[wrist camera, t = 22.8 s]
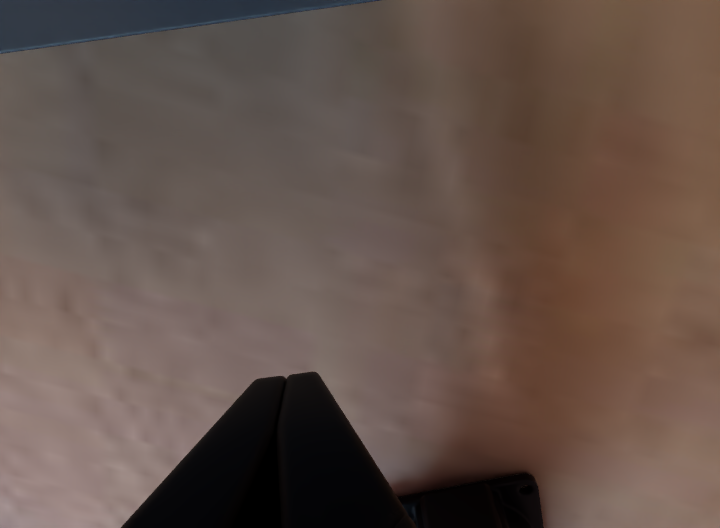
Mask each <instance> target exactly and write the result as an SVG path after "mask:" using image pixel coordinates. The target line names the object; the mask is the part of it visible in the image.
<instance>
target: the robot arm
mask: <svg viewBox="0 0 720 528" xmlns="http://www.w3.org/2000/svg"><path fill="white" fill-rule="evenodd" d="M525 485H528V486H527V487H524V488H521V487H522V486H525ZM121 528H544V527H543V519H542V512H541V505H540V497H539V490H538V486H537V483H536V481H535V478H534V477H533V476H532V475H531V474H527V473H523V474H517V475H512V476H506V477H501V478H496V479H491V480H486V481H480V482H475V483H470V484H465V485H460V486H454V487H449V488H444V489H439V490H434V491H428V492H423V493H418V494H413V495H408V496H402V497H397V496H396V494H395V493H394V491H393V490H392V488H391V487H390V485H389V483H388V482H387V480H386V479H385V477H384V476H383V474H382V473H381V471H380V469H379V468H378V466H377V465H376V463H375V462H374V460H373V458H372V457H371V455H370V454H369V452H368V451H367V449H366V447H365V446H364V444H363V443H362V441H361V440H360V438H359V437H358V435H357V433H356V432H355V430H354V429H353V427H352V426H351V424H350V422H349V421H348V419H347V418H346V416H345V415H344V413H343V412H342V410H341V408H340V407H339V405H338V404H337V402H336V401H335V399H334V397H333V396H332V394H331V393H330V391H329V390H328V388H327V386H326V385H325V383H324V382H323V380H322V379H321V377H320V376H319V374H318V373H316V372H307V373H299V374H292V375H289V376H288V377H287V379H286V378H285V377H283V376H276V377H268V378H260V379H257V380H255V381H254V382H253V383H252V384H251V385H250V386H249V387H248V388H247V389H246V390H245V391H244V392H243V394H242V395H241V396H240V397H239V398H238V399H237V400H236V401H235V402H234V404H233V405H232V406H231V407H230V408H229V409H228V410H227V411H226V412H225V413H224V415H223V416H222V417H221V418H220V419H219V420H218V421H217V422H216V423H215V424H214V426H213V427H212V428H211V429H210V430H209V431H208V432H207V433H206V434H205V435H204V437H203V438H202V439H201V440H200V441H199V442H198V443H197V444H196V445H195V446H194V448H193V449H192V450H191V451H190V452H189V453H188V454H187V455H186V456H185V458H184V459H183V460H182V461H181V462H180V463H179V464H178V465H177V466H176V467H175V469H174V470H173V471H172V472H171V473H170V474H169V475H168V476H167V477H166V478H165V480H164V481H163V482H162V483H161V484H160V485H159V486H158V487H157V488H156V489H155V491H154V492H153V493H152V494H151V495H150V496H149V497H148V498H147V499H146V500H145V502H144V503H143V504H142V505H141V506H140V507H139V508H138V509H137V510H136V512H135V513H134V514H133V515H132V516H131V517H130V518H129V519H128V520H127V521H126V523H125V524H124V525H123V526H122V527H121Z"/></svg>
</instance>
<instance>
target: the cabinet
mask: <svg viewBox="0 0 720 528" xmlns="http://www.w3.org/2000/svg"><path fill="white" fill-rule="evenodd" d="M373 1H380V0H0V54H3V53H10V52H17V51H24V50H31V49H38V48H45V47H53V46H60V45H67V44H74V43H81V42H88V41H95V40H102V39H109V38H117V37H124V36H131V35H138V34H145V33H152V32H159V31H166V30H174V29H181V28H188V27H195V26H202V25H209V24H216V23H223V22H230V21H238V20H245V19H252V18H259V17H266V16H273V15H280V14H287V13H295V12H302V11H309V10H316V9H323V8H330V7H337V6H344V5H351V4H359V3H366V2H373Z"/></svg>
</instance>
